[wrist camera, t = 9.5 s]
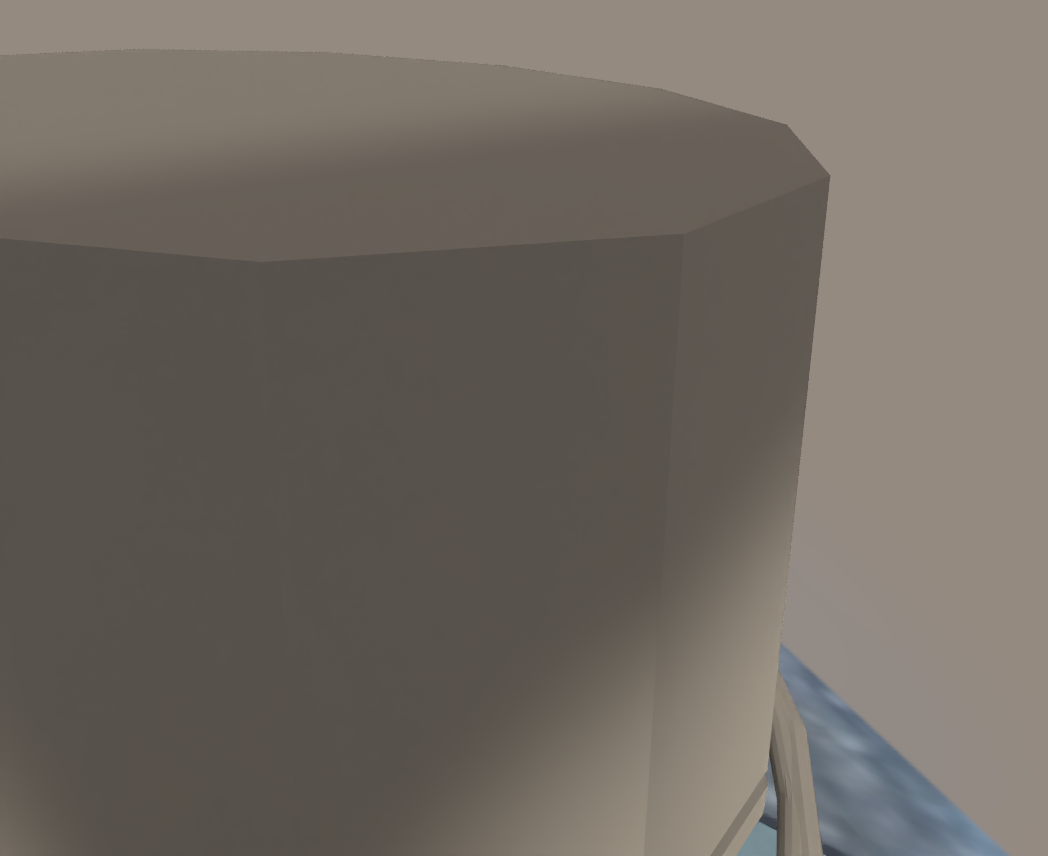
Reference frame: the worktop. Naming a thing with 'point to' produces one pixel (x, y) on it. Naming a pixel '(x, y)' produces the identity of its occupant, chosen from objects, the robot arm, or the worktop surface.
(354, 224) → the water bottle
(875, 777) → the worktop surface
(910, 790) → the worktop surface
